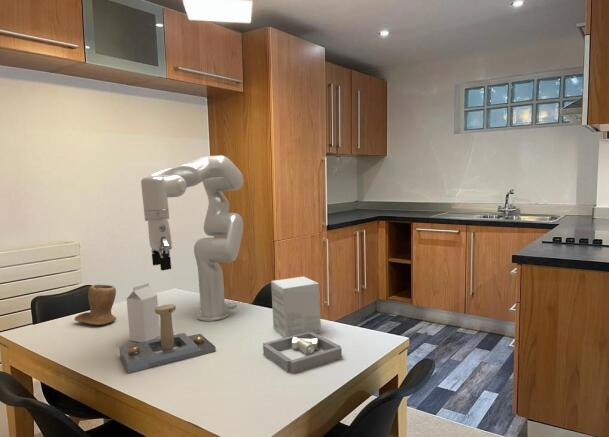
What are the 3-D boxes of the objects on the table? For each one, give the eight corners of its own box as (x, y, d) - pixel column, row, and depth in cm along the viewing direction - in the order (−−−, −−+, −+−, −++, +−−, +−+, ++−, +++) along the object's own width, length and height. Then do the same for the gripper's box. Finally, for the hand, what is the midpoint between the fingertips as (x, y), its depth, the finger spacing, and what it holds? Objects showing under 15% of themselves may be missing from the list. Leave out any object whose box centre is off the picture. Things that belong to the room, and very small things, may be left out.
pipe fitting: (315, 357, 132) (319, 347, 138) (314, 345, 131) (318, 336, 138) (289, 356, 134) (294, 346, 140) (288, 344, 133) (294, 335, 139)
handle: (181, 351, 139) (178, 305, 138) (163, 358, 135) (160, 310, 133) (172, 348, 143) (169, 303, 141) (154, 355, 138) (151, 308, 136)
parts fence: (311, 339, 145) (310, 330, 145) (344, 357, 129) (343, 347, 129) (261, 353, 135) (260, 343, 135) (290, 374, 120) (289, 363, 120)
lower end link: (200, 337, 151) (200, 329, 151) (215, 351, 139) (215, 341, 138) (138, 352, 141) (137, 342, 141) (148, 368, 128) (147, 357, 128)
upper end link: (184, 341, 149) (183, 328, 148) (198, 355, 136) (197, 341, 135) (120, 356, 138) (118, 342, 138) (128, 373, 125) (127, 357, 125)
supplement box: (306, 322, 163) (304, 275, 162) (321, 332, 151) (319, 282, 150) (272, 328, 158) (270, 280, 156) (285, 339, 146) (283, 288, 144)
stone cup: (124, 320, 176) (121, 283, 175) (98, 329, 166) (94, 290, 164) (100, 315, 183) (97, 280, 182) (73, 324, 173) (70, 287, 172)
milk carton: (160, 336, 155) (156, 283, 153) (145, 343, 148) (141, 288, 147) (145, 334, 158) (141, 282, 156) (129, 341, 151) (125, 287, 150)
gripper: (176, 215, 136) (181, 269, 138) (161, 212, 150) (166, 261, 152) (151, 218, 132) (157, 274, 134) (138, 214, 146) (143, 264, 148)
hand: (161, 267), depth 143 cm, fingers open, 9 cm apart
